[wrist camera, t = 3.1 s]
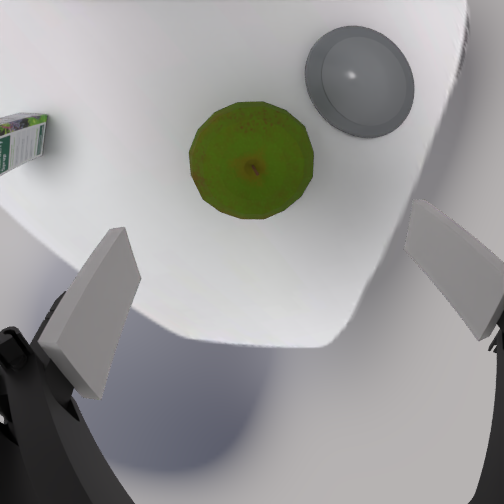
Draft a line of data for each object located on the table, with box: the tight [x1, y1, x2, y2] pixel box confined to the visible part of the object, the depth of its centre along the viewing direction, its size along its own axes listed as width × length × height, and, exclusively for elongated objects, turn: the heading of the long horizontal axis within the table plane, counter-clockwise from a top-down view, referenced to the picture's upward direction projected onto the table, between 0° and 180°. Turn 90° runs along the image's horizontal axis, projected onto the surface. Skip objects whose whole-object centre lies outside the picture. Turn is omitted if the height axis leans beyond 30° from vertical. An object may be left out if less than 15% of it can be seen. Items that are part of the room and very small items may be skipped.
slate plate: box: [305, 26, 414, 138], centre depth 26 cm, size 14×14×2 cm
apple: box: [189, 102, 314, 219], centre depth 25 cm, size 11×11×11 cm
